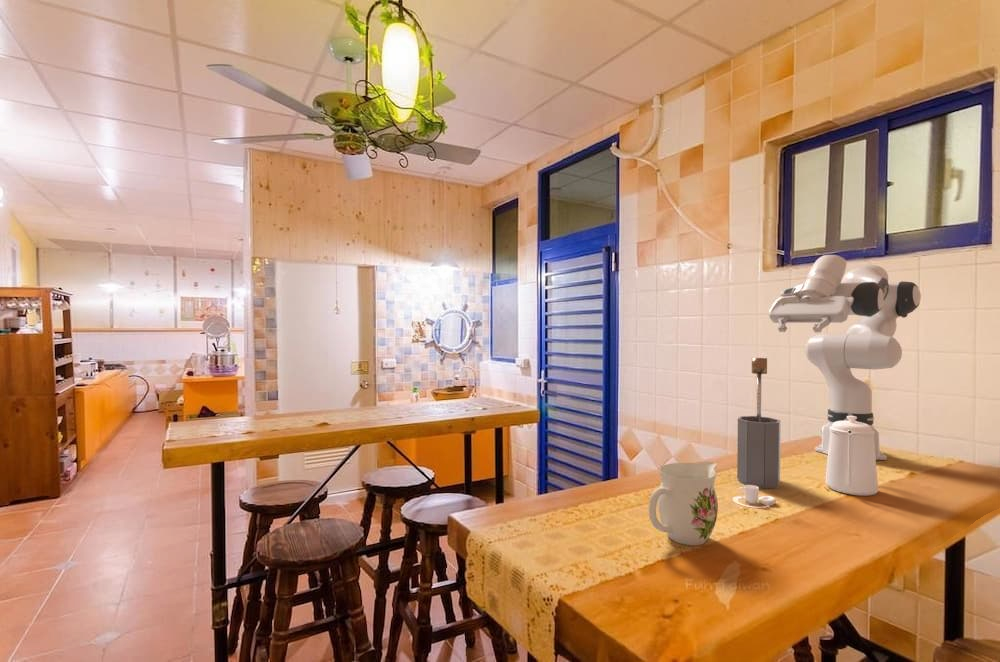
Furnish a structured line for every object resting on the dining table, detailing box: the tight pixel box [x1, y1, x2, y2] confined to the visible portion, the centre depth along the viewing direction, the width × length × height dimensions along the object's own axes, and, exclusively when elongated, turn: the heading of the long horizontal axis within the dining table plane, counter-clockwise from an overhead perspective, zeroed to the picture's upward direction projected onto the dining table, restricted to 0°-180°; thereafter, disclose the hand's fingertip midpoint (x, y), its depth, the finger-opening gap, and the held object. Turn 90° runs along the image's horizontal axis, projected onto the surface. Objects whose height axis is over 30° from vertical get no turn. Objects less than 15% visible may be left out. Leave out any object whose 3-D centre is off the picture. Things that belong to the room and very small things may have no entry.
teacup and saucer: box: [732, 484, 777, 509], centre depth 115 cm, size 9×8×4 cm
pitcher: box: [648, 461, 719, 546], centre depth 96 cm, size 11×18×14 cm, turn 119°
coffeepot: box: [824, 416, 879, 497], centre depth 124 cm, size 11×25×19 cm, turn 143°
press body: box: [736, 415, 782, 490], centre depth 131 cm, size 13×10×17 cm
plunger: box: [751, 357, 768, 422], centre depth 130 cm, size 7×7×24 cm
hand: (798, 330), depth 139 cm, fingers open, 8 cm apart
